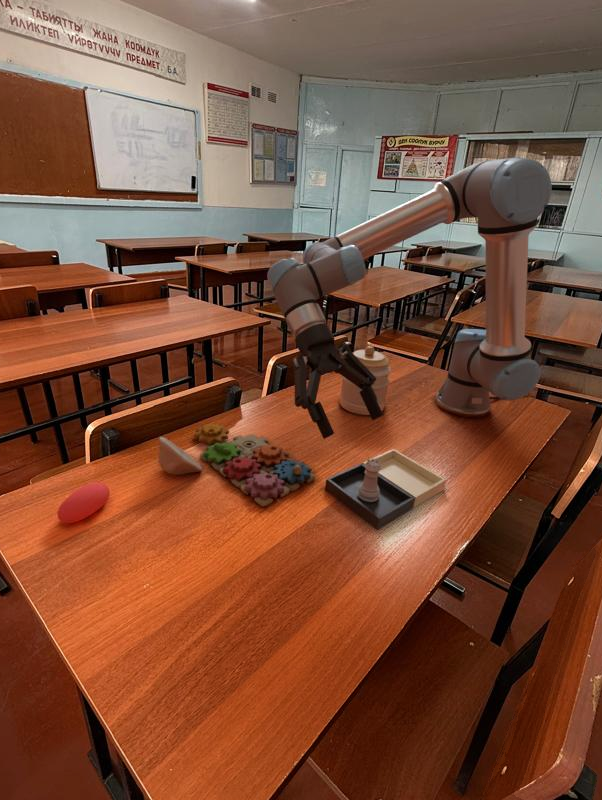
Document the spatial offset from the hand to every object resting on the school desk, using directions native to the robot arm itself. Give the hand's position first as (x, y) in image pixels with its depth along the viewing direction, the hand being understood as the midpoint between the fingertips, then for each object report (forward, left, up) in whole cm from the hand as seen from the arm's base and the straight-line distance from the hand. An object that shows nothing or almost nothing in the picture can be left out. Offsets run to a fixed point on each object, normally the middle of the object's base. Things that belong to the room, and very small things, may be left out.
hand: (354, 426), depth 85 cm
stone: (+26, -23, -13) cm, 37 cm away
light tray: (-10, +6, -13) cm, 18 cm away
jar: (-29, -24, -13) cm, 40 cm away
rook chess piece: (0, +6, -13) cm, 14 cm away
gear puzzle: (+13, -19, -13) cm, 26 cm away
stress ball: (+45, -20, -13) cm, 51 cm away
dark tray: (0, +6, -13) cm, 15 cm away
